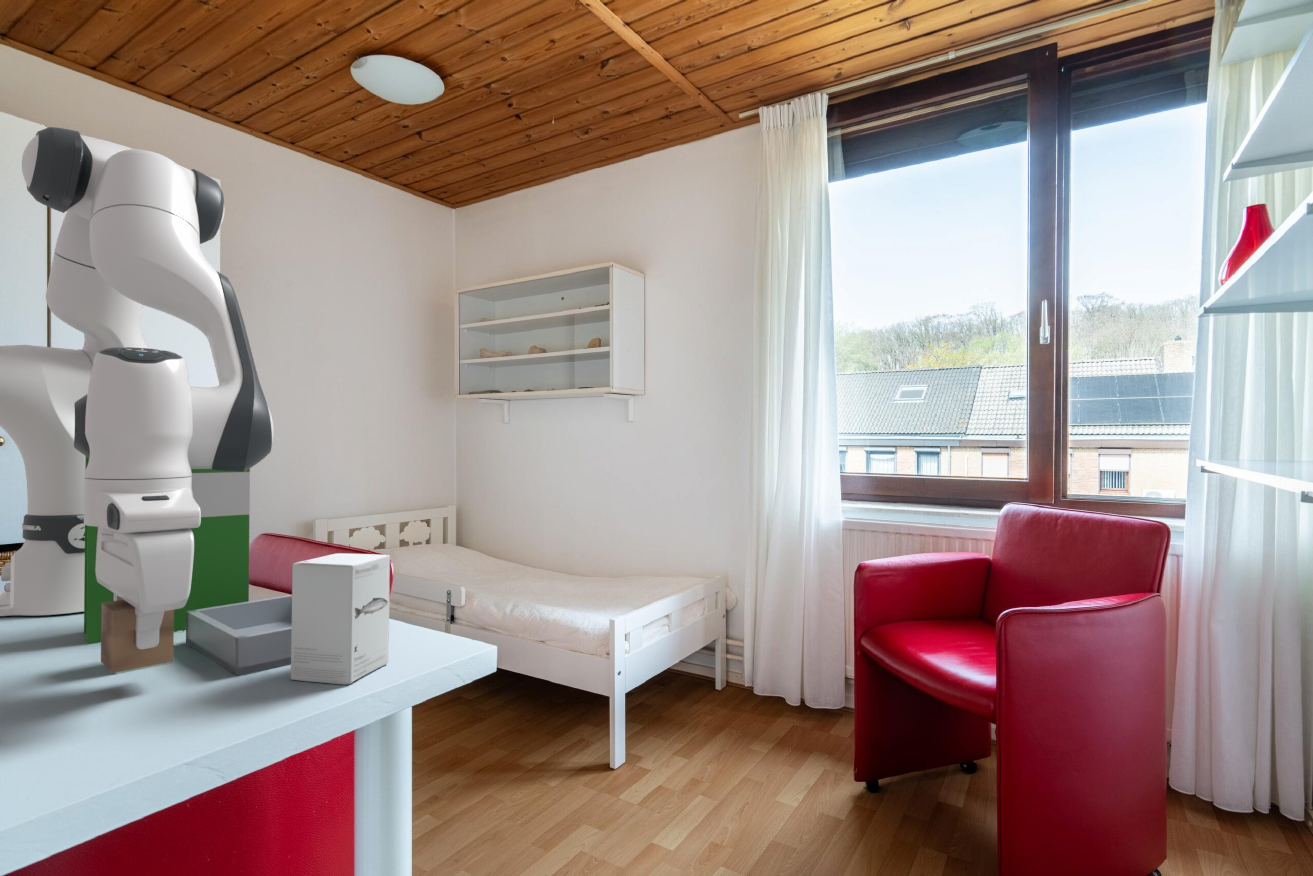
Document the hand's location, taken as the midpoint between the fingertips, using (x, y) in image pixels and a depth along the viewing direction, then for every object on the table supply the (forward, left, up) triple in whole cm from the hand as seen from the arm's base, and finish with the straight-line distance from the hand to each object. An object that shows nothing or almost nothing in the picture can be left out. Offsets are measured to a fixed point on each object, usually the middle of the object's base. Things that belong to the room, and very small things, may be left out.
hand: (137, 640), depth 71 cm
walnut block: (0, 0, -2) cm, 2 cm away
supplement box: (+10, +16, -5) cm, 20 cm away
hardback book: (-26, +9, -5) cm, 28 cm away
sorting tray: (-6, +15, -5) cm, 17 cm away
